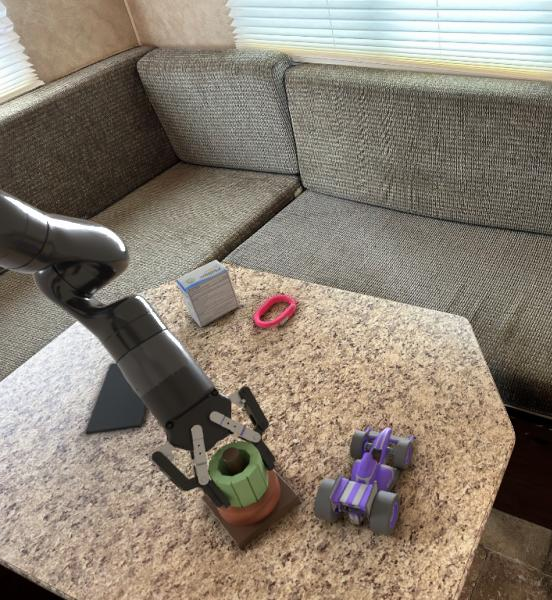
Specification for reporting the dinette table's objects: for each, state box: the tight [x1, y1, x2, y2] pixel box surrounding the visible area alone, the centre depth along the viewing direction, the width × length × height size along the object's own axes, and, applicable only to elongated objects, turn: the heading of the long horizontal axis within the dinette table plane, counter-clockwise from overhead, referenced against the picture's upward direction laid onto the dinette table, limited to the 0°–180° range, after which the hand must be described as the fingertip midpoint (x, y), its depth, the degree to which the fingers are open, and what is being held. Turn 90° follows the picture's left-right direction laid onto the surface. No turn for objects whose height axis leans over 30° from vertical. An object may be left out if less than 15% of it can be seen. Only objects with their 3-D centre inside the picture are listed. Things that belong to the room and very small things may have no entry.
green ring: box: [207, 440, 268, 508], centre depth 74 cm, size 6×6×5 cm
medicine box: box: [175, 259, 241, 328], centre depth 106 cm, size 8×4×9 cm, turn 130°
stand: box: [200, 447, 301, 551], centre depth 75 cm, size 9×9×10 cm
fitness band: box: [253, 294, 297, 329], centre depth 106 cm, size 8×6×2 cm
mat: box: [85, 362, 147, 435], centre depth 95 cm, size 14×8×1 cm, turn 5°
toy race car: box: [313, 426, 415, 537], centre depth 77 cm, size 10×15×6 cm, turn 162°
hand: (249, 486), depth 74 cm, fingers closed on green ring, 6 cm apart
